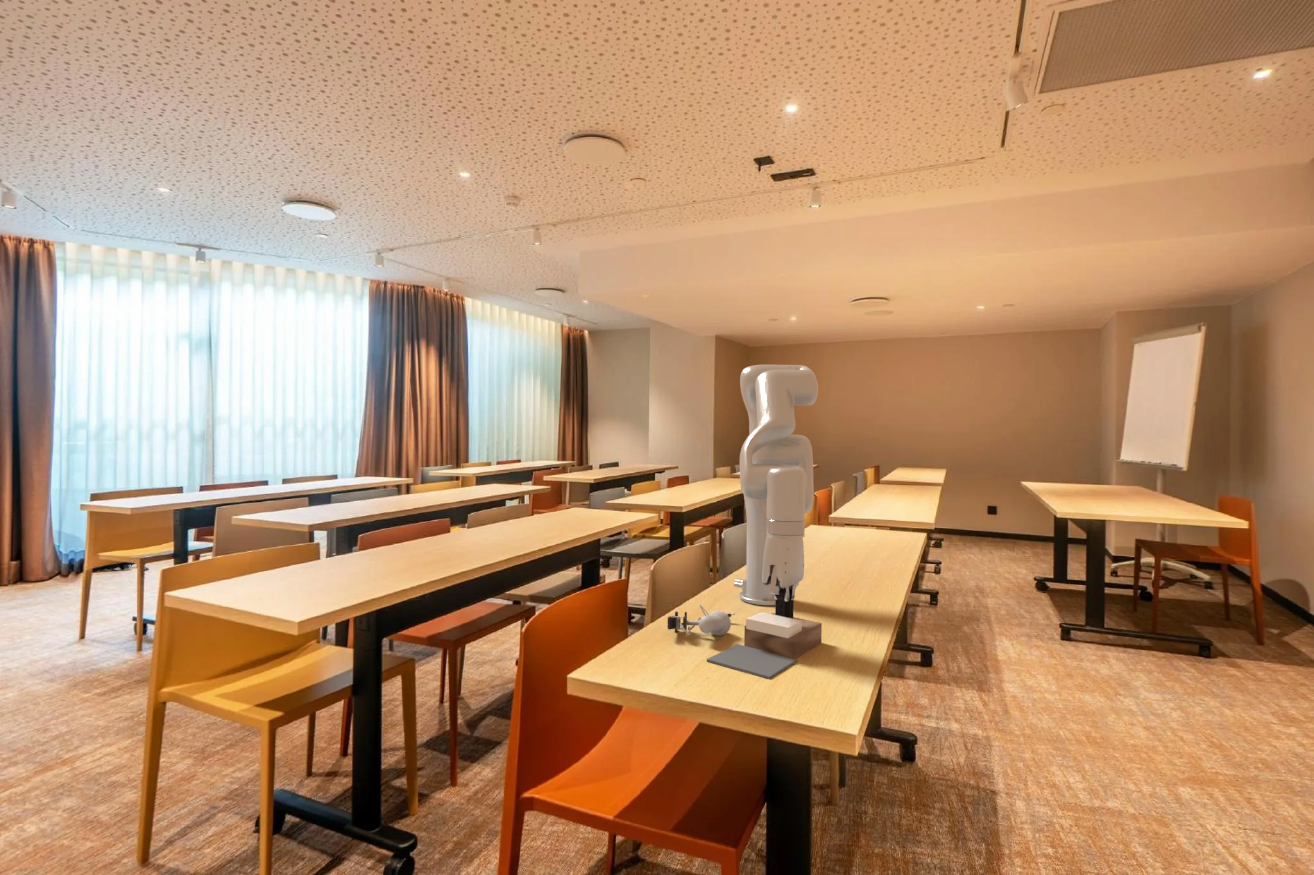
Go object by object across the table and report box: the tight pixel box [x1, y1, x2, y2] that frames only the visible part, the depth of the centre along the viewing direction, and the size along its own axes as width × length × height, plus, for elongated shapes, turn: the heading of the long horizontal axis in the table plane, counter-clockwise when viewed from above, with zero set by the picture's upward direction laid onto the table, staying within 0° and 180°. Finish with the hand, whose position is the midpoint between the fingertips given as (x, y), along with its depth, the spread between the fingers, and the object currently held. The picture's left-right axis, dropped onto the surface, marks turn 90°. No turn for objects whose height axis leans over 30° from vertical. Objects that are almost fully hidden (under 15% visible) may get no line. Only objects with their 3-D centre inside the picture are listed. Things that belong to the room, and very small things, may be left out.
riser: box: [743, 612, 823, 659], centre depth 127 cm, size 11×12×4 cm
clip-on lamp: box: [667, 603, 736, 637], centre depth 134 cm, size 12×6×18 cm
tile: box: [745, 611, 802, 638], centre depth 123 cm, size 9×6×2 cm, turn 52°
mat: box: [706, 643, 798, 680], centre depth 117 cm, size 13×11×1 cm
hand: (784, 619), depth 127 cm, fingers closed
